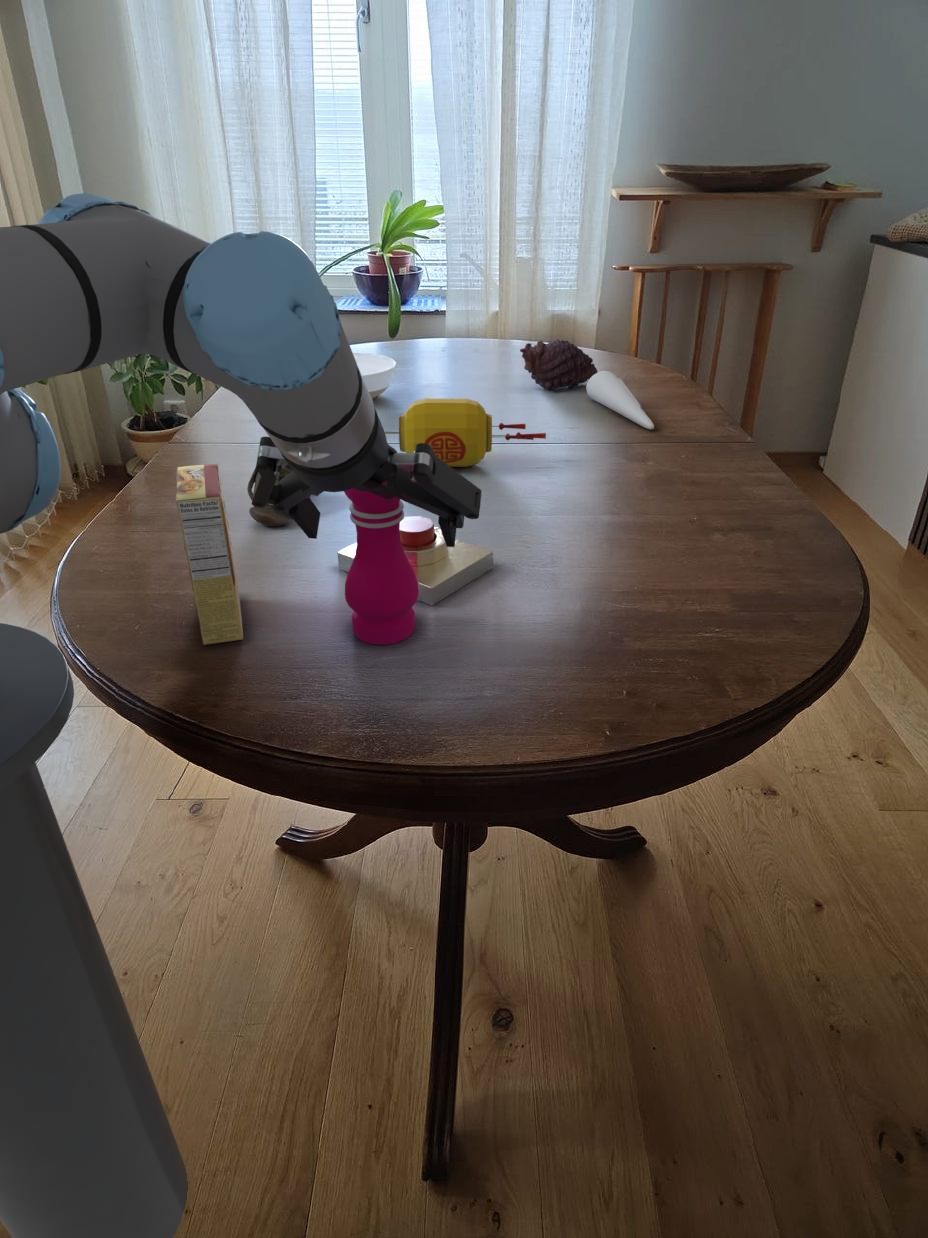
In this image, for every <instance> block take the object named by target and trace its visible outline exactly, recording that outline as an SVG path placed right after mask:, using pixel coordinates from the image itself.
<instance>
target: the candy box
mask: <svg viewBox="0 0 928 1238" xmlns="http://www.w3.org/2000/svg"><path fill="white" fill-rule="evenodd" d="M175 503H176V508H177V513H178V518H179V519H178V520H179V523H180V529H181V534H182V540H183V544H184V545H183V547H184V551H185V556H186V561H187V566H188V572H189V577H190V582H191V588H192V592H193V593H192V594H193V598H194V604H195V609H196V614H197V620H198V624H199V625H198V626H199V630H200V635H201V640H202V641H201V642H202V644H203V646H209V645H215V644H221V643H228V642H234V641H242V640H244V632H243V629H244V628H243V618H242V607H241V599H240V592H239V591H240V590H239V583H238V577H237V570H236V565H235V556H234V551H233V544H232V537H231V532H230V525H229V520H228V514H227V508H226V502H225V496H224V490H223V486H222V480H221V474H220V467H219V464H217V463H211V464H197V465H185V466H184V465H183V466H178V467H176V471H175Z"/></svg>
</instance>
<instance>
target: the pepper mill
mask: <svg viewBox="0 0 928 1238" xmlns="http://www.w3.org/2000/svg"><path fill="white" fill-rule="evenodd" d="M386 482H387V481H385V482H384V483H383V485H385V486H386ZM343 494H344V495H345V496H346V497H347V499H348V500H349V501H350V504H349V507H348V509H349V511H350V515H349V519H350V521H351V522H352V523H353V524H354V525H355V530H356V531H355V532H356V543H357V547H356V553H355V557H354V559H353V562H352V564H351V566H350V569H349V572H347V574H346V579H345V583H344V598H345V602H346V603H347V605H348V607H349V608H350V609H351V610H352V611H353V612H352V614H351V621H352V622H351V623H352V632H353V635H354V636H355V637H356V638H357V639H359V640H360V641H362V642H364V643H367V644H371V645H376V646H377V645H378V646H384V645H385V646H386V645H393V644H397V643H401V642H403V641H405V640H407V639H408V638H410V636H412V634H413V633H414V632H415V629H416V617H415V616H416V615H415V610H414V608H413V607H414V605H415V604H416V603H417V601H418V600H417V599H418V594H419V589H418V581H417V578H416V575H415V572H414V569H413V567H412V565H411V564H410V562H409V560H408V558H407V556H406V554H405V552H404V550H403V546H402V543H401V538H400V530H399V528H400V522H401V521H402V520H403V518H404V517H405V512H404V508H405V504H404V501H403V500H401V499H399V498H396V497H395V498H393V499H390V500H387V499H385V498H382V497H380V496H378V495H375V494H373V493H371V492H368V491H365V492H361V491H359V490H356V489H350V490H346V491H343Z"/></svg>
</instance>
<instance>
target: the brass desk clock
mask: <svg viewBox="0 0 928 1238" xmlns="http://www.w3.org/2000/svg"><path fill="white" fill-rule="evenodd" d="M292 471H293V470H292V469H291V467H290V466H289V465H286V468H284V469H281V476H282V475H284V476H286V475H288V474H289V473H290V472H292ZM257 473H258V470H257V468H256V467H254V470H253V472H252V474H251V476H250V478H249V481H248V482H247V483H248V484H247V488H246V489H247V495H248V497H249V499H250V500H251V501H252V498H253V492H254V491H253V488H254V486H255V481H256V476H257ZM278 477H279V476H276V481H275V484H274V485H277V483H278ZM309 498H310V499H311V495H310V496H309ZM248 513H249V515H250V516H251V517H252V519H253V520H254V521H255V522H256V523H258V524H260V525H263V526H265V527H278V526H279V527H280V526H283V525H287V524H288V523H290V521H291V520H292V519H289V518H287V517H286V516H285V515H284V514H283V513H282V511H278V510H275V509H274V505H272V504H266V506H265V507H263V508H258V507H254V506H252V507H250V509H249V511H248ZM251 517H250V518H251Z"/></svg>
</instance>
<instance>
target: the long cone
mask: <svg viewBox="0 0 928 1238" xmlns="http://www.w3.org/2000/svg"><path fill="white" fill-rule="evenodd" d="M585 388H586V393H587V395H588V397H589V398H590V399H592V400H593V401H595V402H597V403H599V404H601V405H603V406H605V407H606V408H608V409H610V410H612V411H613V412H615V413H617V414H619V415H621V416H622V417H624V418H626V419H628V420H630V421H632V422H633V423H635V424H637V425H638V426H641V427H643V428H645V429H647V430H650V431H653V430H654V429H655V424H654V422H653V421H652V420H651V419H650V417H649V416H648V415H647V414H646V412H645V411H644V410H643V409H642V405H641V403H640V402H639V401H638V399H637V398H636V397H635V396H634V395H633V393H632V392H631V390H630V389H629V388H628V387H627V386H626V384H625V382H624V381H623V380H622V378H620V377H618V376H617V375H615V374H614V373H613V372H612V371H609V370H608V371H607V370H602V371H597V373H596V374H594V375H593V376H592V377H591V378H590V379H588V380H587V382H586V387H585Z"/></svg>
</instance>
